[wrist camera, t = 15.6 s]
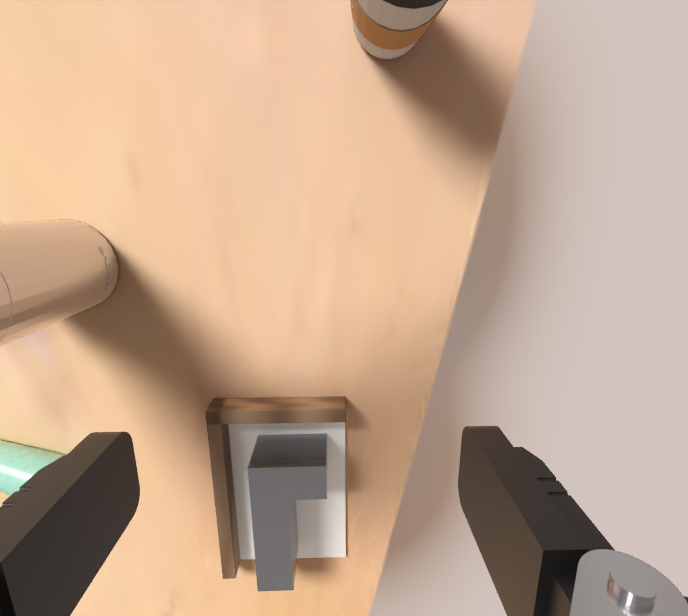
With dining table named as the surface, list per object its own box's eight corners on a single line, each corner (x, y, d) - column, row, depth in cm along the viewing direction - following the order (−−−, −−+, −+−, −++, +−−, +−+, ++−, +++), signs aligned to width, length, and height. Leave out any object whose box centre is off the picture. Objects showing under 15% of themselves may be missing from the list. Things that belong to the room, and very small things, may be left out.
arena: (229, 557, 51) (223, 578, 48) (213, 398, 45) (205, 412, 42) (345, 554, 51) (346, 575, 48) (344, 396, 46) (345, 409, 43)
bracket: (258, 435, 46) (247, 468, 40) (326, 433, 46) (326, 466, 41) (266, 546, 50) (257, 591, 44) (329, 544, 50) (329, 588, 45)
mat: (241, 556, 51) (240, 559, 51) (228, 410, 46) (227, 412, 45) (345, 554, 51) (345, 556, 51) (345, 408, 46) (345, 410, 46)
